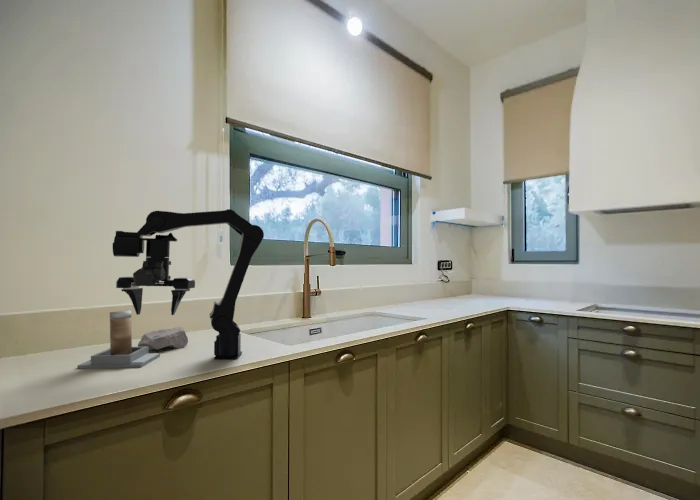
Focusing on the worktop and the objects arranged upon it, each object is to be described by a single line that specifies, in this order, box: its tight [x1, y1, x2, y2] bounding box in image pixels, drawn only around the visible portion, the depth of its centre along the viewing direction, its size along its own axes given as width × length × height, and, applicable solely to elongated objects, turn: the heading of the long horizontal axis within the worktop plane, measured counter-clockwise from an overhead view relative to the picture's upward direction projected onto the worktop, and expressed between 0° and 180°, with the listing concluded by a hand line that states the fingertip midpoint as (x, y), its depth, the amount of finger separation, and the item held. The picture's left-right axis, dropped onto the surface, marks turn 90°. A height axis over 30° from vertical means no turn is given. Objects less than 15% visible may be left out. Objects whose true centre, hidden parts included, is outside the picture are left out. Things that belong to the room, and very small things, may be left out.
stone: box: [137, 326, 189, 351], centre depth 118 cm, size 13×10×6 cm
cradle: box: [76, 346, 161, 370], centre depth 102 cm, size 16×11×3 cm
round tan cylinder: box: [109, 309, 133, 355], centre depth 102 cm, size 5×5×13 cm
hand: (155, 314), depth 101 cm, fingers open, 9 cm apart
